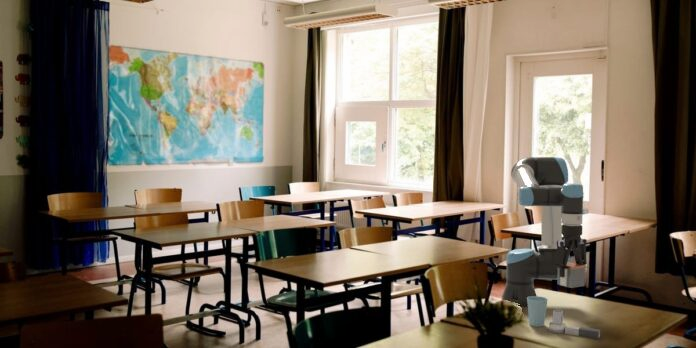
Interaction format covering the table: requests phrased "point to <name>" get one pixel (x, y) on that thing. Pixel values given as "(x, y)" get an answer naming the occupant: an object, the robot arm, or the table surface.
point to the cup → (537, 310)
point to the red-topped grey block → (574, 275)
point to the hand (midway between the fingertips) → (570, 284)
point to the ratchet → (570, 327)
